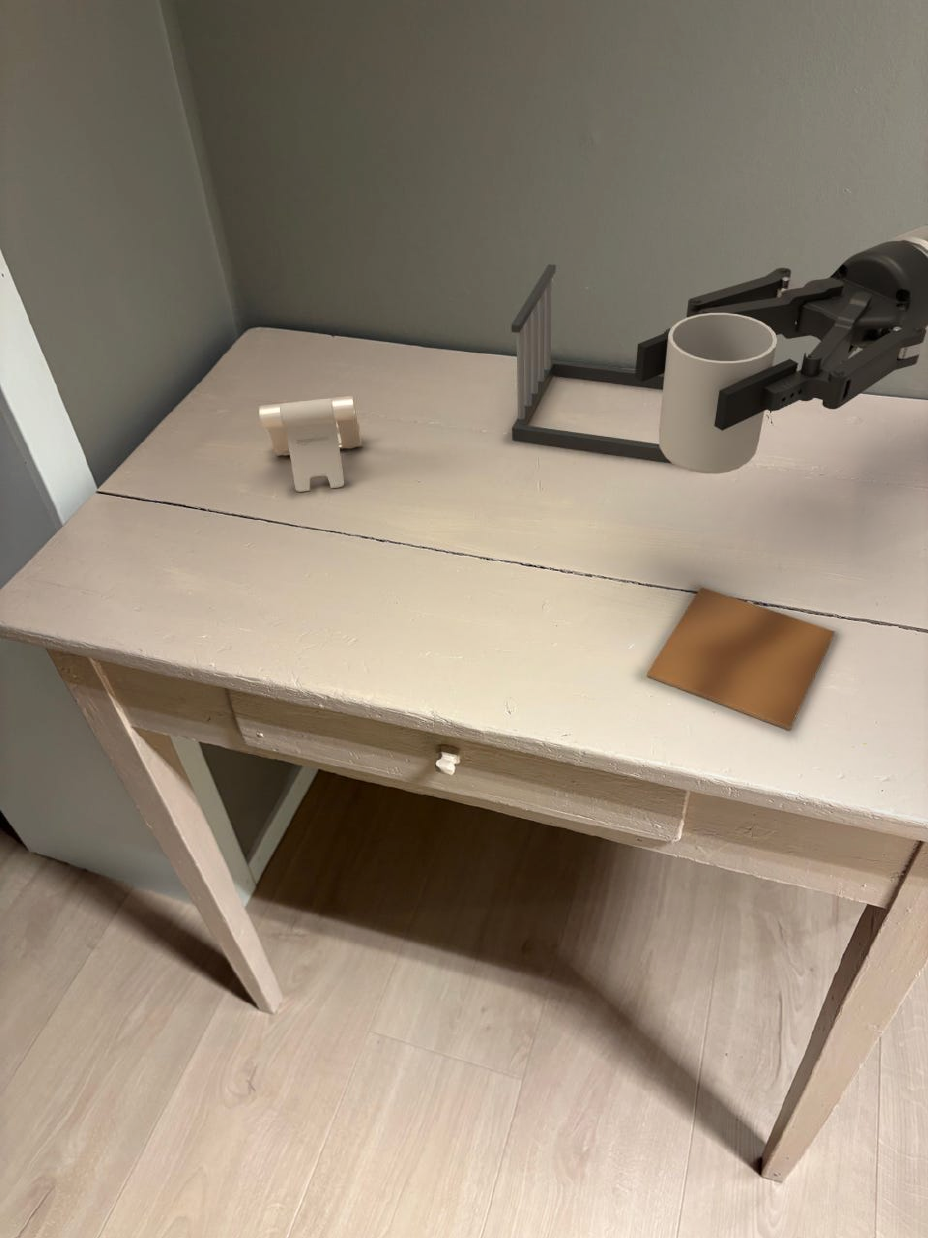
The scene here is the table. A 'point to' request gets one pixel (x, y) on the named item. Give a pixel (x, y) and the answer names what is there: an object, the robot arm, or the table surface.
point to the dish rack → (540, 369)
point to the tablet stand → (313, 436)
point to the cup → (711, 389)
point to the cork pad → (743, 657)
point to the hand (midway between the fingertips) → (679, 386)
